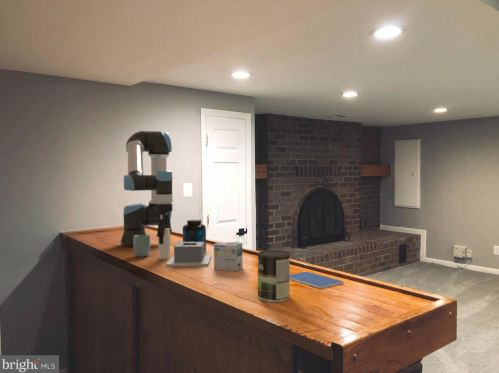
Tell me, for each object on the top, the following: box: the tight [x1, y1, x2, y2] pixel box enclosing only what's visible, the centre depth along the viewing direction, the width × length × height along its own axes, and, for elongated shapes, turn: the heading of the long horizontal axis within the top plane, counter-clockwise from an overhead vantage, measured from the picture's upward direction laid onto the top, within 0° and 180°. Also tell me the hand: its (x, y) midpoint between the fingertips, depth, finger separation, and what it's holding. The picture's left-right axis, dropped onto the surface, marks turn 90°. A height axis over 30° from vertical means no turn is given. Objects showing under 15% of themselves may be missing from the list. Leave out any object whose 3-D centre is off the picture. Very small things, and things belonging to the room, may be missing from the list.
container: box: [182, 219, 207, 253], centre depth 199 cm, size 12×12×16 cm
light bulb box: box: [213, 241, 244, 272], centre depth 161 cm, size 11×7×11 cm, turn 71°
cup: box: [133, 234, 151, 258], centre depth 187 cm, size 8×8×10 cm
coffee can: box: [257, 249, 291, 303], centre depth 122 cm, size 10×10×14 cm
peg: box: [159, 228, 171, 260], centre depth 183 cm, size 4×4×14 cm
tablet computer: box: [290, 271, 344, 290], centre depth 143 cm, size 19×13×1 cm, turn 36°
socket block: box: [165, 241, 212, 267], centre depth 175 cm, size 18×18×8 cm
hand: (164, 248), depth 183 cm, fingers open, 13 cm apart
